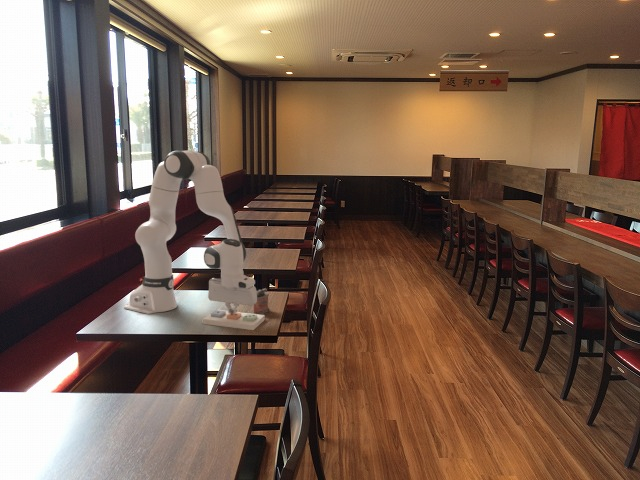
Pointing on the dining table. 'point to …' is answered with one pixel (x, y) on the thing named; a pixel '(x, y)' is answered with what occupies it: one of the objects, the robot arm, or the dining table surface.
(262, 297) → the lighter
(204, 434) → the dining table surface
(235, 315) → the button terracotta
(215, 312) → the button slate
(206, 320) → the panel
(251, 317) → the button sage
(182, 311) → the dining table surface
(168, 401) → the dining table surface
